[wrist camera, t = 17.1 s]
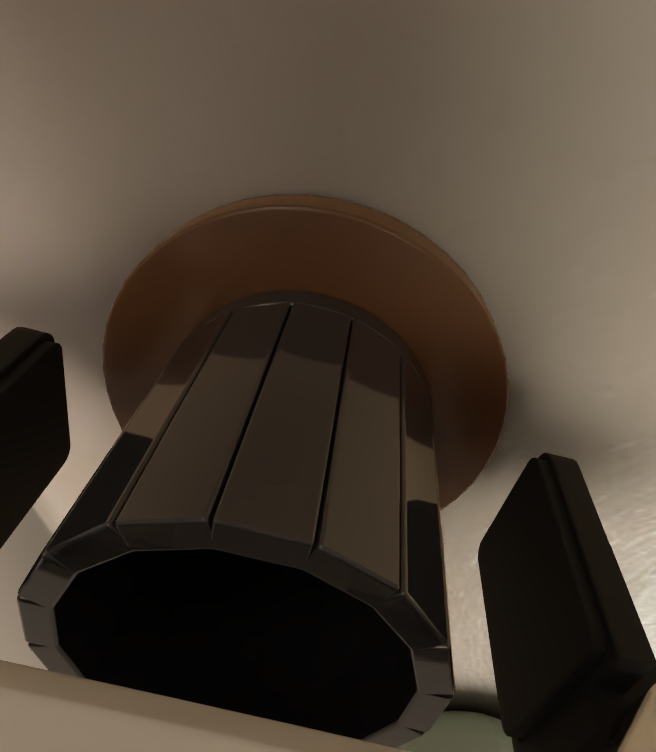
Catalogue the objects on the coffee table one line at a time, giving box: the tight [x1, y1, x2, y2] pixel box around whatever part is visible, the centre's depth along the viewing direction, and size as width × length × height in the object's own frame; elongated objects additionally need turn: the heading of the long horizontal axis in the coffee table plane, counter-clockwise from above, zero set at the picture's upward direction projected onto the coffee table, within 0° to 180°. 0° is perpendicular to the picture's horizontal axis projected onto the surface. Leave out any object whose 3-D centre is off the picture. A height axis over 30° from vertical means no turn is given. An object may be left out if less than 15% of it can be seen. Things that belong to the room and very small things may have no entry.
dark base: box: [103, 195, 509, 510], centre depth 12 cm, size 9×9×1 cm
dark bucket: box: [17, 291, 455, 748], centre depth 10 cm, size 6×7×6 cm
